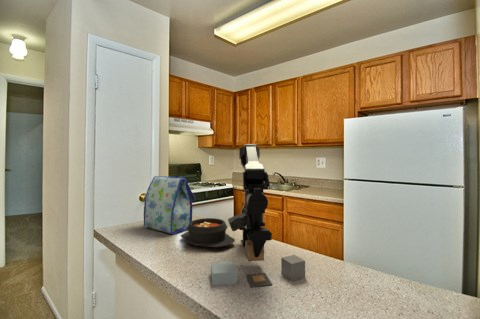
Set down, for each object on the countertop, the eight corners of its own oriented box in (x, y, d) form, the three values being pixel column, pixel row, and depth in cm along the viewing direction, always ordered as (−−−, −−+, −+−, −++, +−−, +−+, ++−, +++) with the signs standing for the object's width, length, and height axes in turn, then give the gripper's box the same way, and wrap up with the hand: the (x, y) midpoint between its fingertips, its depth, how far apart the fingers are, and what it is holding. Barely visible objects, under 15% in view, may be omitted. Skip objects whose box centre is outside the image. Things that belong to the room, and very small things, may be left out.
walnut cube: (245, 255, 82) (245, 240, 82) (259, 254, 83) (259, 239, 83) (248, 261, 77) (248, 245, 77) (264, 260, 78) (264, 244, 78)
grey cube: (281, 273, 75) (281, 257, 75) (294, 270, 77) (294, 254, 77) (291, 281, 70) (291, 263, 70) (305, 277, 73) (305, 260, 73)
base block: (211, 274, 75) (211, 263, 75) (233, 272, 76) (233, 261, 76) (212, 286, 68) (212, 273, 68) (237, 283, 69) (237, 271, 69)
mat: (245, 275, 74) (245, 273, 74) (265, 273, 75) (265, 271, 75) (251, 287, 67) (251, 285, 67) (272, 285, 68) (272, 283, 68)
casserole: (244, 242, 102) (244, 222, 102) (212, 256, 88) (212, 233, 88) (203, 231, 118) (203, 214, 118) (170, 241, 103) (170, 222, 103)
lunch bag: (196, 227, 124) (196, 176, 124) (171, 236, 110) (171, 178, 110) (166, 221, 136) (166, 174, 136) (140, 228, 122) (140, 176, 122)
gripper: (226, 201, 87) (226, 245, 87) (234, 213, 69) (234, 268, 69) (256, 200, 89) (256, 243, 89) (272, 211, 71) (272, 265, 71)
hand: (254, 253), depth 80 cm, fingers closed on walnut cube, 5 cm apart
